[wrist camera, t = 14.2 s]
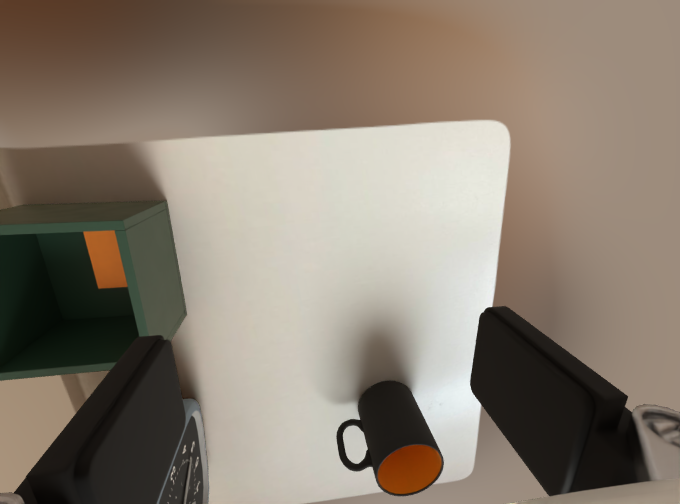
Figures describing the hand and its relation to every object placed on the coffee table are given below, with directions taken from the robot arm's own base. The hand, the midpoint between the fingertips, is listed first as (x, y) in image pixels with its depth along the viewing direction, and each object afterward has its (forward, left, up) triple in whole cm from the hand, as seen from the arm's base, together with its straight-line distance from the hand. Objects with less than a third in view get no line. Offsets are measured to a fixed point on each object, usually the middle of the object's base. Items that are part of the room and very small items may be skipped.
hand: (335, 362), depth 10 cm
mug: (+30, +9, -28) cm, 42 cm away
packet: (+4, -18, -28) cm, 33 cm away
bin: (+6, -21, -28) cm, 36 cm away
